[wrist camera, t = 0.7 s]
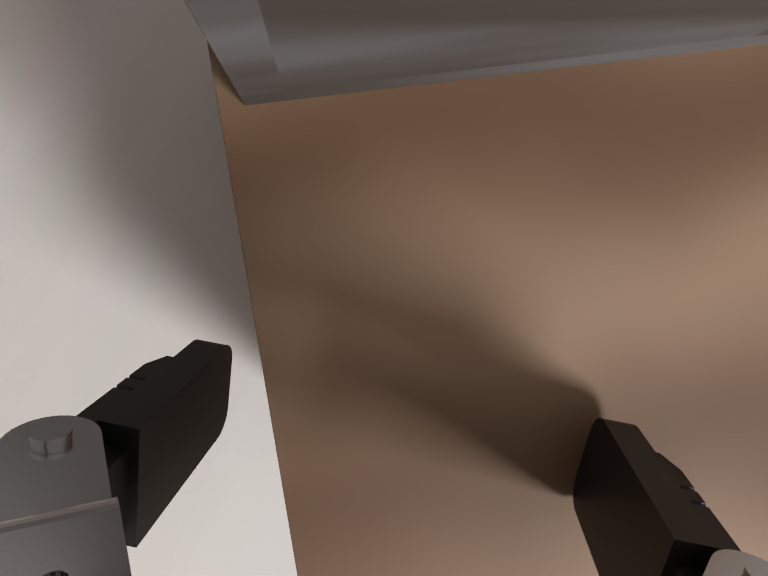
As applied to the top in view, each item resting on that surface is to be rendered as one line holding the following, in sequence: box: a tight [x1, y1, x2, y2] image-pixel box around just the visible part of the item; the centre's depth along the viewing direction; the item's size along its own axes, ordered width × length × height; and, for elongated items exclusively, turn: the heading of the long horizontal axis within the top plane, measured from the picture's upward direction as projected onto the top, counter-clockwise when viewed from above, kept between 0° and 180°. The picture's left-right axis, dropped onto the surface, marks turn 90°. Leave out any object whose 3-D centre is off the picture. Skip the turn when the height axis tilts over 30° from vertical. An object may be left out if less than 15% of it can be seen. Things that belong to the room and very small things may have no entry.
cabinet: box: [184, 0, 768, 576], centre depth 22 cm, size 28×14×32 cm, turn 8°
